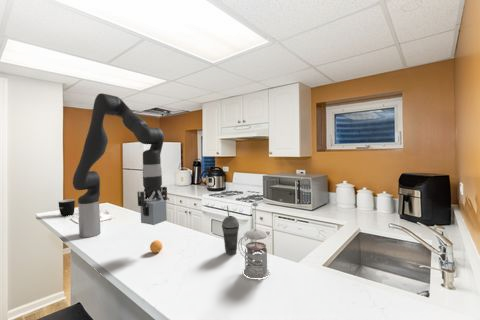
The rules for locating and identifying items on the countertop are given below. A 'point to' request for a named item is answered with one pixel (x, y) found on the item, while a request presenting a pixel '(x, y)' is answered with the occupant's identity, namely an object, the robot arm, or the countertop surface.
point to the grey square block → (155, 212)
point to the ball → (156, 246)
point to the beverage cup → (230, 234)
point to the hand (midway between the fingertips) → (153, 213)
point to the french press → (255, 267)
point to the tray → (102, 215)
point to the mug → (67, 207)
